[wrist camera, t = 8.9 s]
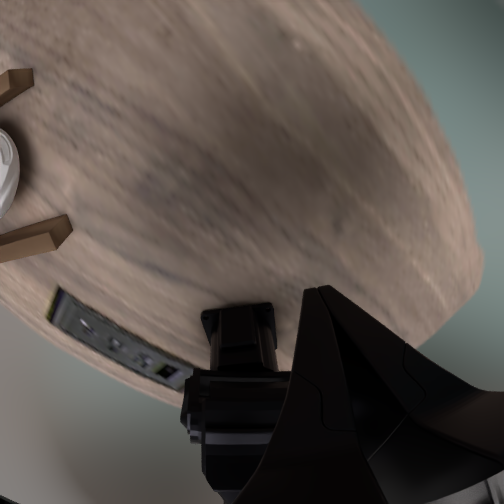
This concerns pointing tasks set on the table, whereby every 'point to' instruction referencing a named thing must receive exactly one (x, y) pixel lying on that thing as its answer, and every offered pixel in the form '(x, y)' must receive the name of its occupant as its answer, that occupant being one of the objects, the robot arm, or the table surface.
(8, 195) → the white carved ball
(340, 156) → the table surface
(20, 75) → the carrier cradle
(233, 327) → the robot arm
